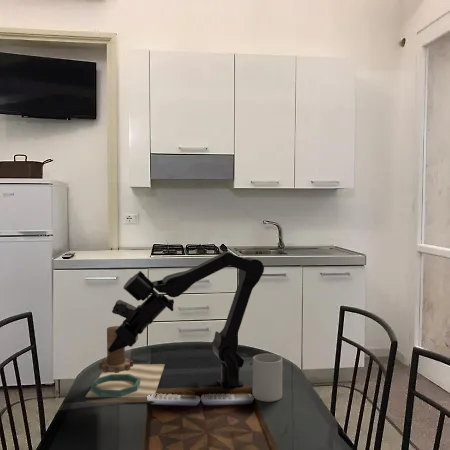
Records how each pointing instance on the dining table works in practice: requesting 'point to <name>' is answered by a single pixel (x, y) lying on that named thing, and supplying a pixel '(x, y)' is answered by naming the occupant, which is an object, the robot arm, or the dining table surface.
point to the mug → (267, 377)
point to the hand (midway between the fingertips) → (111, 348)
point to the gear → (115, 356)
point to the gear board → (127, 384)
